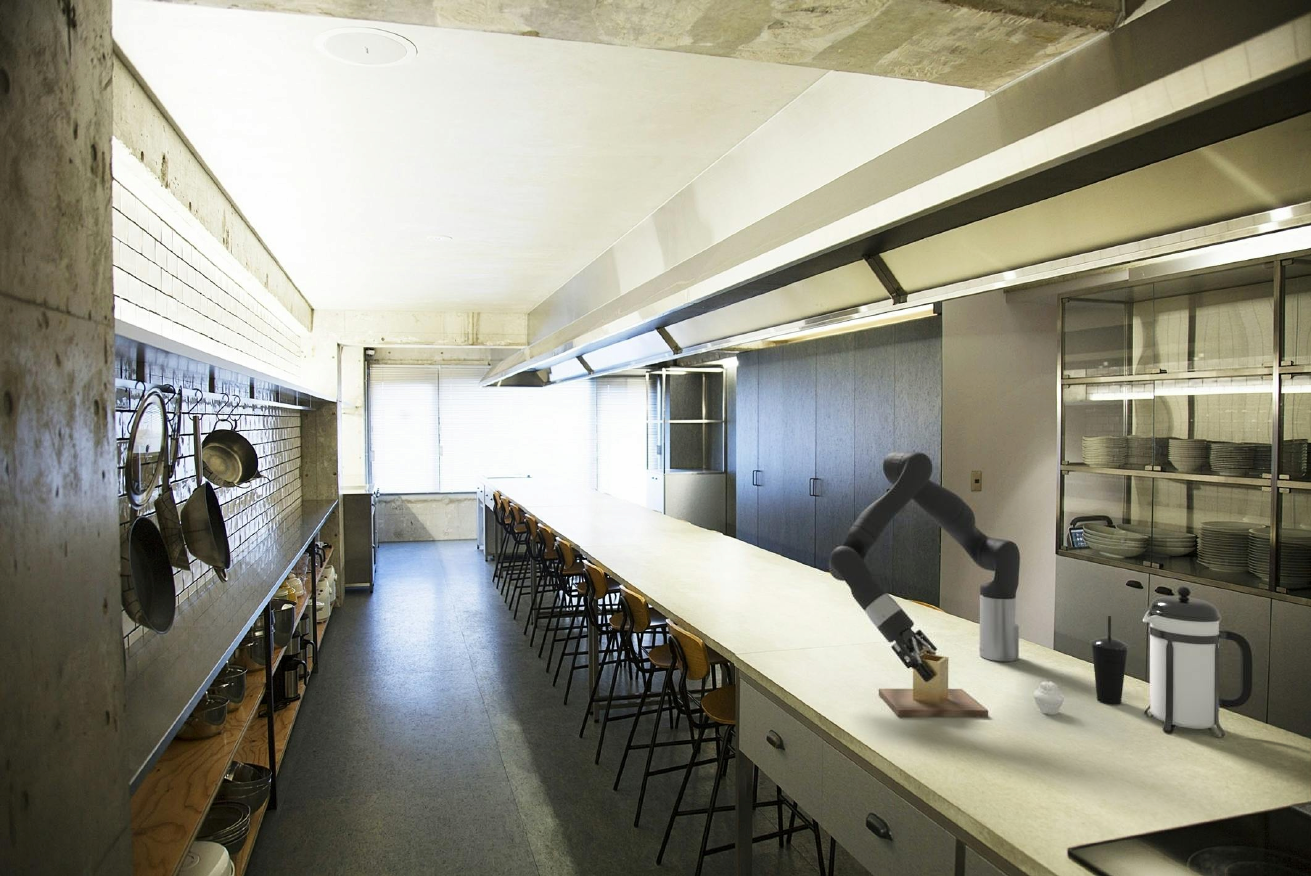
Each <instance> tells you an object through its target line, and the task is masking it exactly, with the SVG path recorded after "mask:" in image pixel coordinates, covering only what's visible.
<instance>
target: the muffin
mask: <svg viewBox="0 0 1311 876" xmlns="http://www.w3.org/2000/svg"><path fill="white" fill-rule="evenodd" d="M1032 696H1033V698H1034V702H1035V704H1036V705H1037V707H1038V709H1039V711H1040V712H1041V713H1042V714H1045V715H1050V716H1051V715H1052V716H1055V715H1056V714H1057V713H1058V712H1059V710H1061V708H1062V706H1063V703H1064V700H1065V697H1064V695H1063V694H1062V693H1061V692H1060V690H1059V689H1058V686H1057V684H1056V683H1054V682H1051V681H1049V680H1048V681H1042V682H1040V683H1039V687H1037V689H1036V690H1034V692H1033V694H1032Z"/></svg>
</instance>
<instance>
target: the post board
mask: <svg viewBox="0 0 1311 876" xmlns="http://www.w3.org/2000/svg"><path fill="white" fill-rule="evenodd" d="M878 696H879V697H880V699H881V700H883V702H884V703H885V704H886V705H887V707H889V709H891V711H892V712H893V713H894V714H895V715H896V716H897V718H899V717H900V718H903V717H904V718H916V717H917V718H945V717H946V718H989V710H988V709H987V708H986V707H985V705H982V704H981V703H980V702H979V701H978V700H976V698H974V697H973V696H971V695H970V694H969V693H967V691H965V690H964V689H963V688H948V699H947V700H946V701H944V702H943V703H942V704H941V705H935V704H931V703H926V702H922V701H918V700H913V688H878Z"/></svg>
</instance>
